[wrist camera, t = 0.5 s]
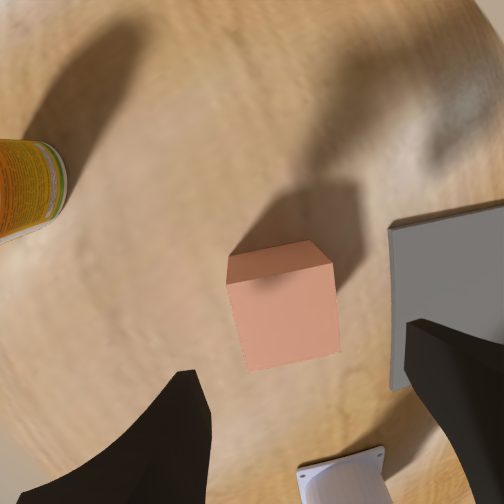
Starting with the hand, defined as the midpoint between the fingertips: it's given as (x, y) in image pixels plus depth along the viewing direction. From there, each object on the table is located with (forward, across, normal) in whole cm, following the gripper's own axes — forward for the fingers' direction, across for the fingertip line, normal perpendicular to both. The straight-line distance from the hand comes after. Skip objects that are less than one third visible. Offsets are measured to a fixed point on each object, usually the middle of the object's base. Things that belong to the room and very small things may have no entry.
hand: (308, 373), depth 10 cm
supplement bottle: (+9, +13, -9) cm, 18 cm away
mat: (+8, -13, +4) cm, 16 cm away
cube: (+8, 0, 0) cm, 9 cm away
